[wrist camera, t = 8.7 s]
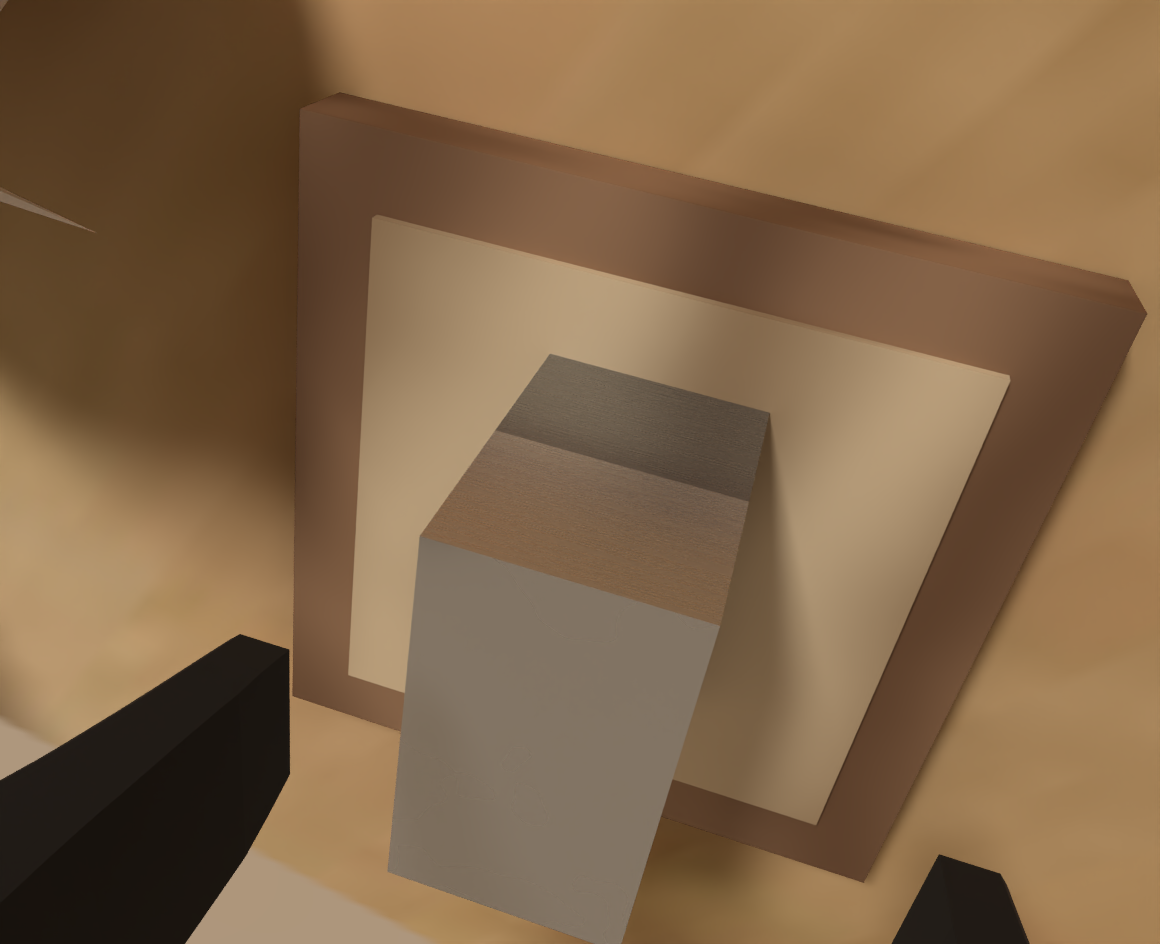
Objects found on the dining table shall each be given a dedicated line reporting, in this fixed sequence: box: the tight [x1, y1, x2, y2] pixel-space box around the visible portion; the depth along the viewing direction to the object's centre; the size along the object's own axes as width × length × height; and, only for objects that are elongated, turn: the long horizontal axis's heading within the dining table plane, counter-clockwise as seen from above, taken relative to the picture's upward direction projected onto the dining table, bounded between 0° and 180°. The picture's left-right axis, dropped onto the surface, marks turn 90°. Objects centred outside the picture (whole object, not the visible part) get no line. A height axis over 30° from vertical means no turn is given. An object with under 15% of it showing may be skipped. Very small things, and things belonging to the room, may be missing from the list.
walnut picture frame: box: [293, 93, 1147, 883], centre depth 21 cm, size 14×14×2 cm
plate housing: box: [388, 354, 770, 944], centre depth 17 cm, size 4×7×6 cm, turn 170°
